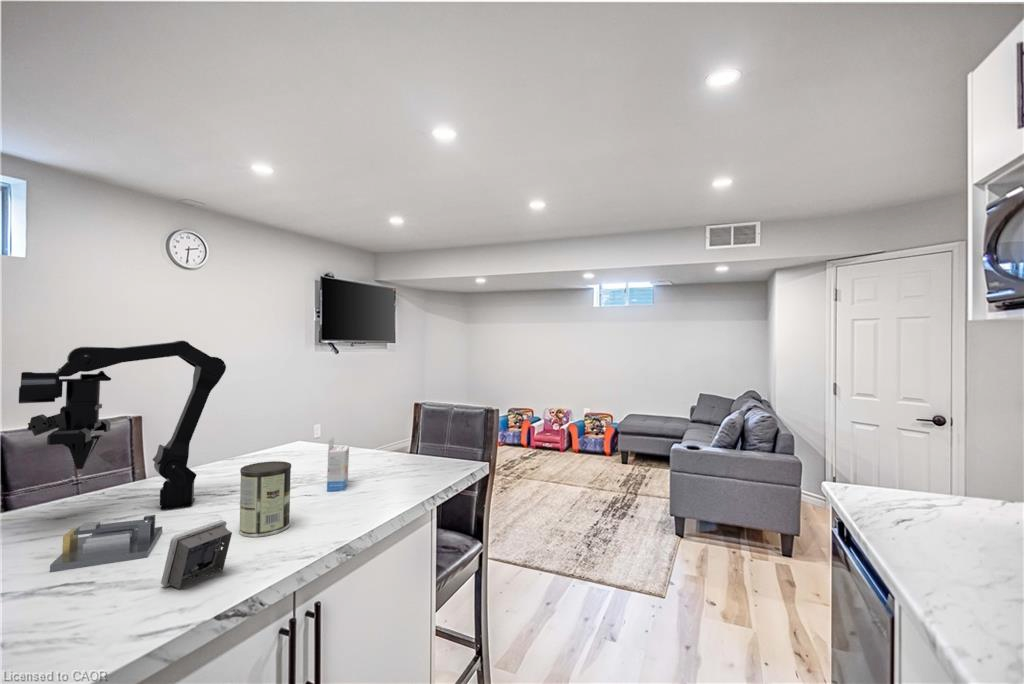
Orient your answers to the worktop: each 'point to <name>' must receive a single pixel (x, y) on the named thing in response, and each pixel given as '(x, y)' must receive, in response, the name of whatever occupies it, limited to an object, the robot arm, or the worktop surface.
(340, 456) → the ink box
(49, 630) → the worktop surface
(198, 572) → the electrical switch
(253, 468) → the coffee can
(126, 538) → the toggle clamp fixture
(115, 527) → the grey long bar
